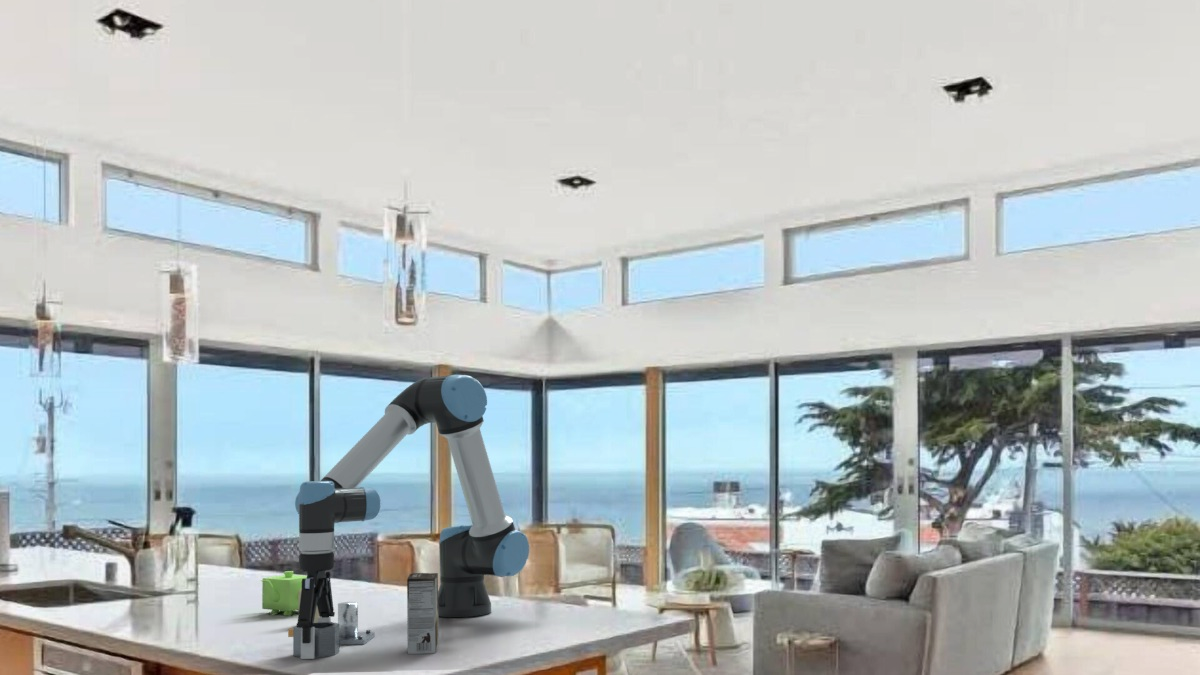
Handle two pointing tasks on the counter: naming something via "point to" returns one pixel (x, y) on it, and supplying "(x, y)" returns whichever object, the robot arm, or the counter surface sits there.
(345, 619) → the bolted post base
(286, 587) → the kettle
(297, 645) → the collar
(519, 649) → the counter surface
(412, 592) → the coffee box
